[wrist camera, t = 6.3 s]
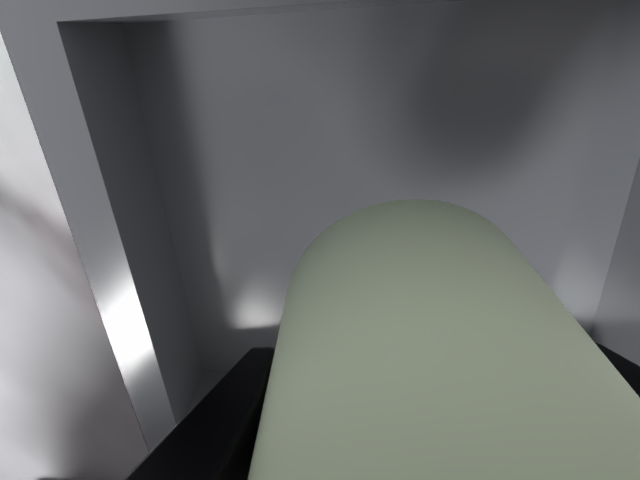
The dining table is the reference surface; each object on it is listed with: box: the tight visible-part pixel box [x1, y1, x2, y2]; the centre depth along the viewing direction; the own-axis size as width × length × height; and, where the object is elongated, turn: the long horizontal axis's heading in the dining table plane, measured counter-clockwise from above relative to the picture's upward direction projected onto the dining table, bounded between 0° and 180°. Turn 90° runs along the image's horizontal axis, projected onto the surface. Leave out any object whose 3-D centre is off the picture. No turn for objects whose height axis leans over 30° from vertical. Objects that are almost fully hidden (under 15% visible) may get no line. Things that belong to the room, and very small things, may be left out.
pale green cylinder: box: [247, 199, 640, 480], centre depth 6 cm, size 5×5×7 cm
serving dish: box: [0, 0, 640, 453], centre depth 12 cm, size 16×14×4 cm
